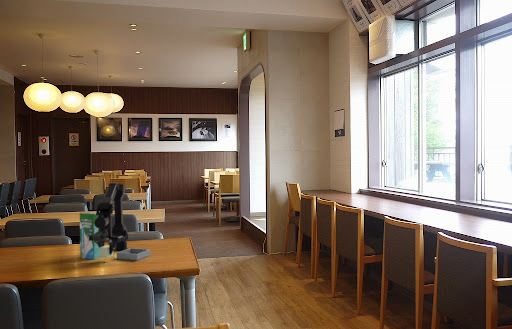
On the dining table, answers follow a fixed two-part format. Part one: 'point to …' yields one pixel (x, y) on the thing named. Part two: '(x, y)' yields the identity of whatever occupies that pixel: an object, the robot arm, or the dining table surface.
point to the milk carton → (86, 229)
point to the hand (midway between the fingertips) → (106, 254)
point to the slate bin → (133, 254)
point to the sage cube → (105, 252)
